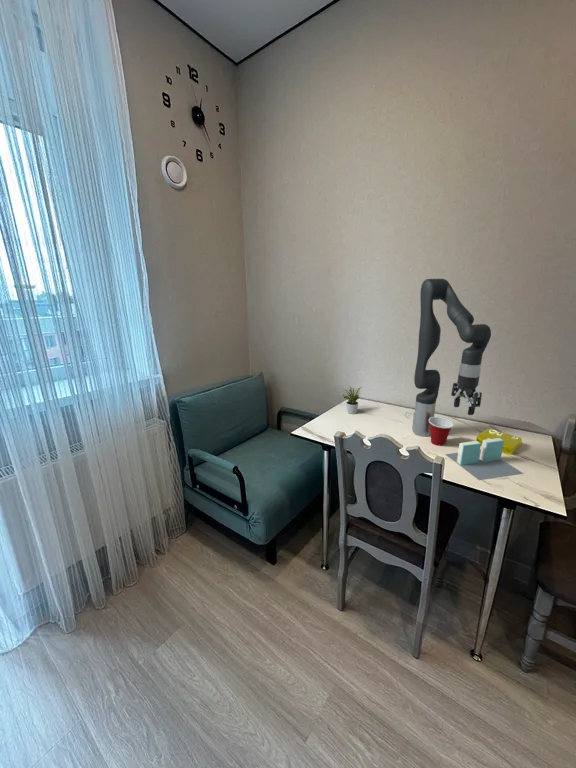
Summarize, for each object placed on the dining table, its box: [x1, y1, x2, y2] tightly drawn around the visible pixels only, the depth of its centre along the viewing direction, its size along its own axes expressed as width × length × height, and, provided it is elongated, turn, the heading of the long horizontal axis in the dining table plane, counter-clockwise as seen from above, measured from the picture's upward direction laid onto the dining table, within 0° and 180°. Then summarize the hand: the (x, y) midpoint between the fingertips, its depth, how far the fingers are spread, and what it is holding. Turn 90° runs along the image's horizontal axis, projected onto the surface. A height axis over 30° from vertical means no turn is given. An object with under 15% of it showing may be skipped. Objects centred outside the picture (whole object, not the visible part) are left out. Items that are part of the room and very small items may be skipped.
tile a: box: [456, 440, 482, 466], centre depth 133 cm, size 2×8×9 cm, turn 101°
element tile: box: [475, 428, 523, 455], centre depth 148 cm, size 15×15×5 cm
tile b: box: [480, 438, 504, 462], centre depth 135 cm, size 2×8×9 cm, turn 101°
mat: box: [445, 449, 524, 481], centre depth 133 cm, size 20×20×1 cm
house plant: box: [340, 386, 363, 415], centre depth 190 cm, size 14×14×16 cm
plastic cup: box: [429, 416, 455, 447], centre depth 149 cm, size 11×11×12 cm
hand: (463, 410), depth 134 cm, fingers open, 8 cm apart
